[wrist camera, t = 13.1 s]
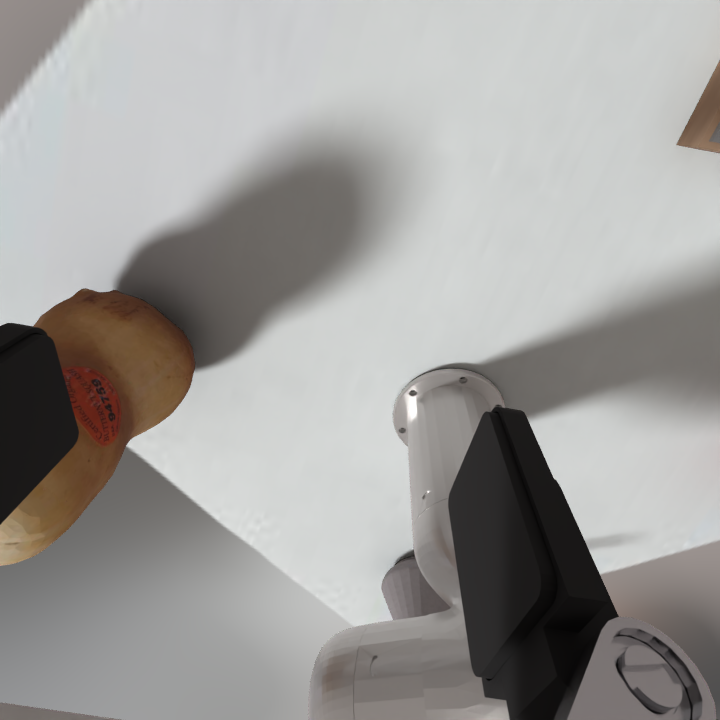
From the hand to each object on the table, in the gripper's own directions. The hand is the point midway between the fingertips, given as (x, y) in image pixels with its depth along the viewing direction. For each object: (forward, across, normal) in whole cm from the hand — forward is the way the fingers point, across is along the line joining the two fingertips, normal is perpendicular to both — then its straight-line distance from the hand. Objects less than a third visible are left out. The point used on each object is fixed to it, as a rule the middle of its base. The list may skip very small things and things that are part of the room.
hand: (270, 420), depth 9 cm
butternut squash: (+31, +20, +18) cm, 41 cm away
